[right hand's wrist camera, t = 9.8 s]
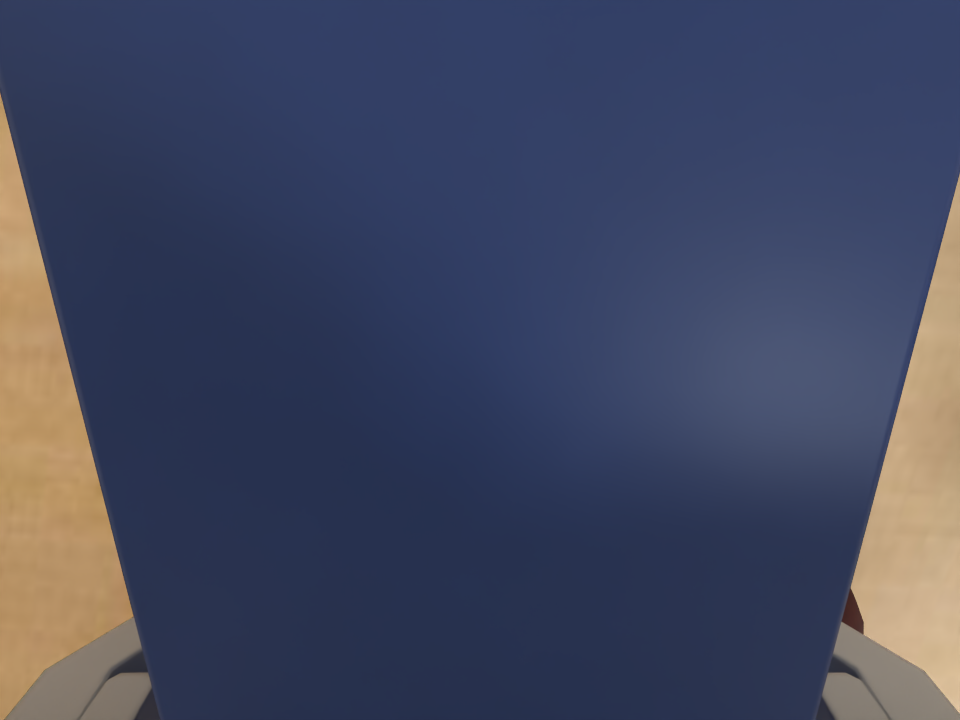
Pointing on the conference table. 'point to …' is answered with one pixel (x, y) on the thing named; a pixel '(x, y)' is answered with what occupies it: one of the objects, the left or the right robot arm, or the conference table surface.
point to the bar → (487, 335)
